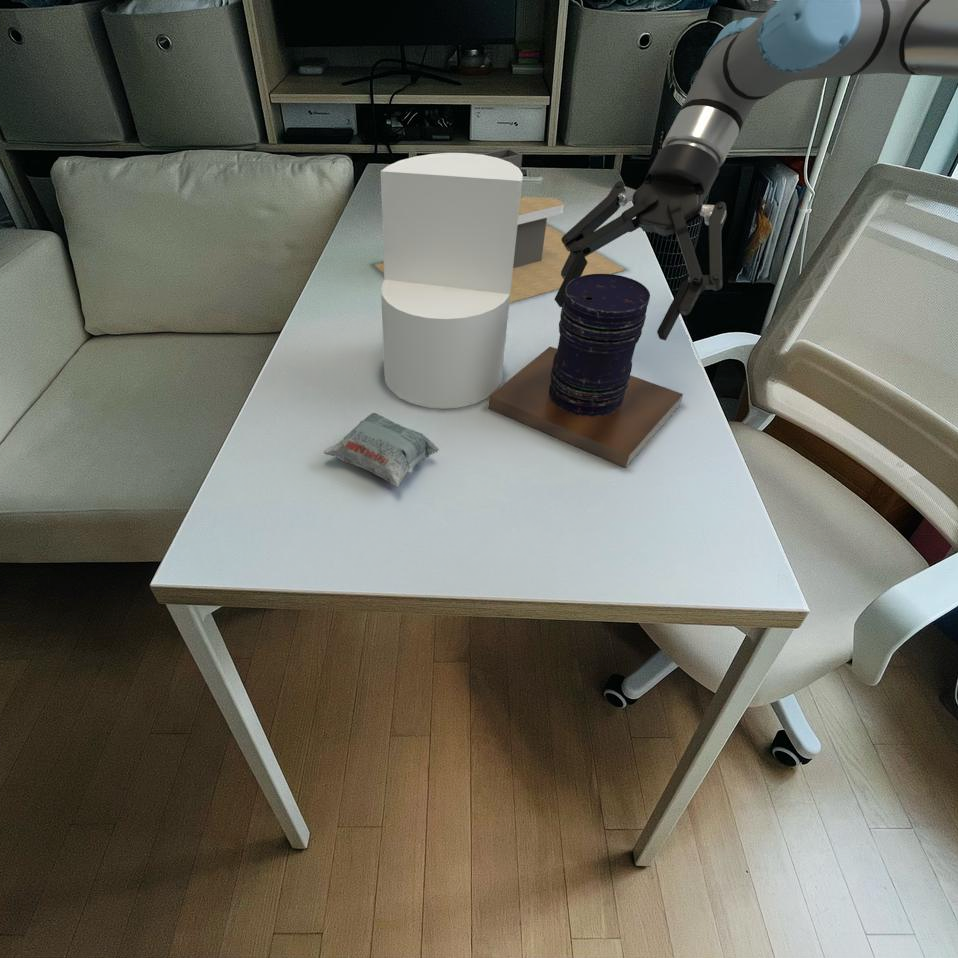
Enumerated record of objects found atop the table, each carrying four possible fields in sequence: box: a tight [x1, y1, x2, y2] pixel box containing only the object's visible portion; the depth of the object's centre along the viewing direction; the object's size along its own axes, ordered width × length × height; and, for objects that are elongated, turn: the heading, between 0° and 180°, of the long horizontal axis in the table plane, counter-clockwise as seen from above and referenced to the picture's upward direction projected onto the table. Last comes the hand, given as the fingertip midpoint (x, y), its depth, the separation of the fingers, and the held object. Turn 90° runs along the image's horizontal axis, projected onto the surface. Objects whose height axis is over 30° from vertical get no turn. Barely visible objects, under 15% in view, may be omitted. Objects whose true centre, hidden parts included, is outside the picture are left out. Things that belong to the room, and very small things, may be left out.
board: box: [487, 346, 684, 469], centre depth 89 cm, size 20×16×2 cm
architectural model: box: [374, 148, 626, 304], centre depth 115 cm, size 38×25×20 cm, turn 114°
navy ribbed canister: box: [549, 273, 651, 417], centre depth 83 cm, size 10×10×15 cm
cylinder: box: [380, 152, 524, 410], centre depth 88 cm, size 17×17×28 cm
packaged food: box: [323, 412, 440, 488], centre depth 82 cm, size 9×12×5 cm
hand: (608, 319), depth 83 cm, fingers open, 13 cm apart
